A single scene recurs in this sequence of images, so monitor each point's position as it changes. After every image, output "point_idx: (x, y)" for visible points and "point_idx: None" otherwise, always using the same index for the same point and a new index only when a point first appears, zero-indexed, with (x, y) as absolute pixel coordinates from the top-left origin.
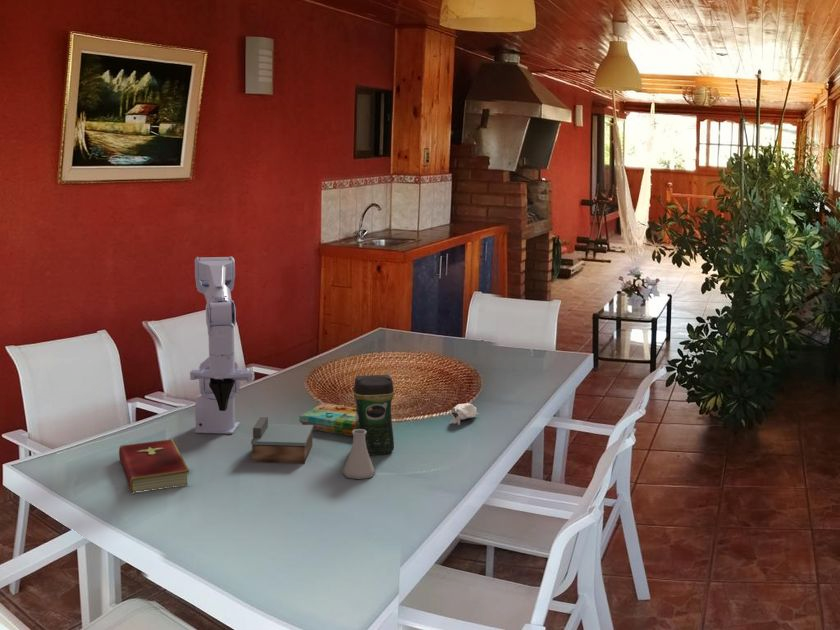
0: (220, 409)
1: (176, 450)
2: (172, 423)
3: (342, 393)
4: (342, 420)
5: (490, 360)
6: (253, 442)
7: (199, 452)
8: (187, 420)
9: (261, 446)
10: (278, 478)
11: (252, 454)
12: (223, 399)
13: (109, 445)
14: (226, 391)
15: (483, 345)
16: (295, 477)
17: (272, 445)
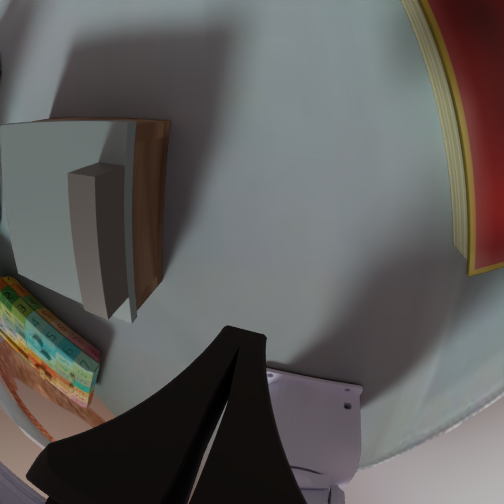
0: (254, 337)
1: (469, 136)
2: (398, 428)
3: None
4: (14, 312)
5: (34, 431)
6: (122, 122)
7: (368, 242)
8: (364, 438)
9: None
10: (99, 7)
11: (155, 122)
12: (199, 384)
13: None
14: (122, 432)
15: None
16: (66, 25)
17: None
